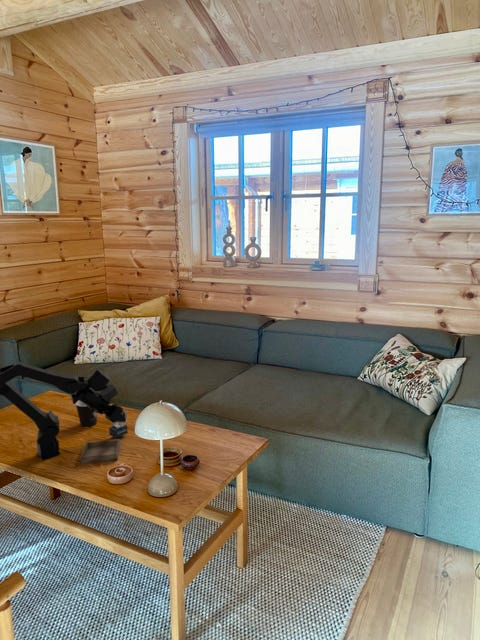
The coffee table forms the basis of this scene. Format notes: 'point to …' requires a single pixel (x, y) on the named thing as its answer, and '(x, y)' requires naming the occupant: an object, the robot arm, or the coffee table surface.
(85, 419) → the coffee mug
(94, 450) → the valet tray
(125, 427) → the watch
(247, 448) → the coffee table surface
